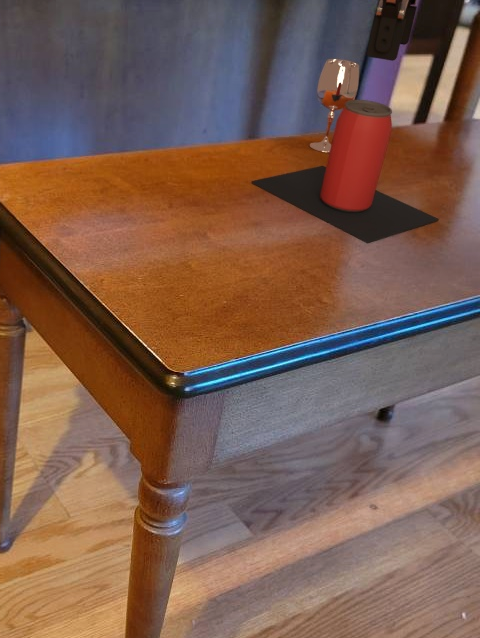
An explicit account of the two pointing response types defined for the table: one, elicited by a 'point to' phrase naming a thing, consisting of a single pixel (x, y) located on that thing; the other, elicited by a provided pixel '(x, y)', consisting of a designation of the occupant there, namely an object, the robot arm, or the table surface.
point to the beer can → (356, 155)
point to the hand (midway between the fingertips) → (387, 50)
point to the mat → (365, 225)
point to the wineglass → (335, 92)
